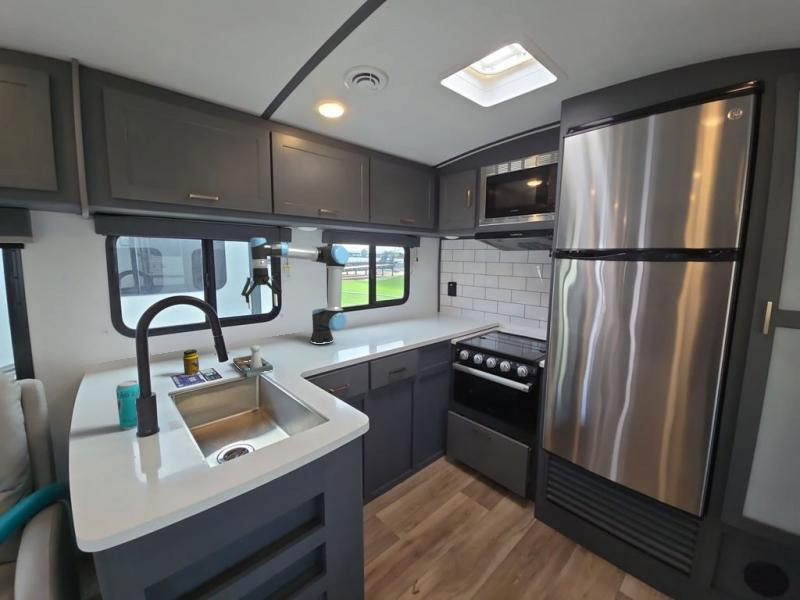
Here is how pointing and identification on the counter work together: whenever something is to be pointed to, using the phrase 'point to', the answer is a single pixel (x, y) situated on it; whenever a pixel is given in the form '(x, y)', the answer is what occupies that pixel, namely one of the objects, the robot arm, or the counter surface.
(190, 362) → the condiment
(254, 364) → the salt shaker
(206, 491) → the counter surface
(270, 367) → the grey rectangular tray
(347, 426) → the counter surface
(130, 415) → the beverage can
